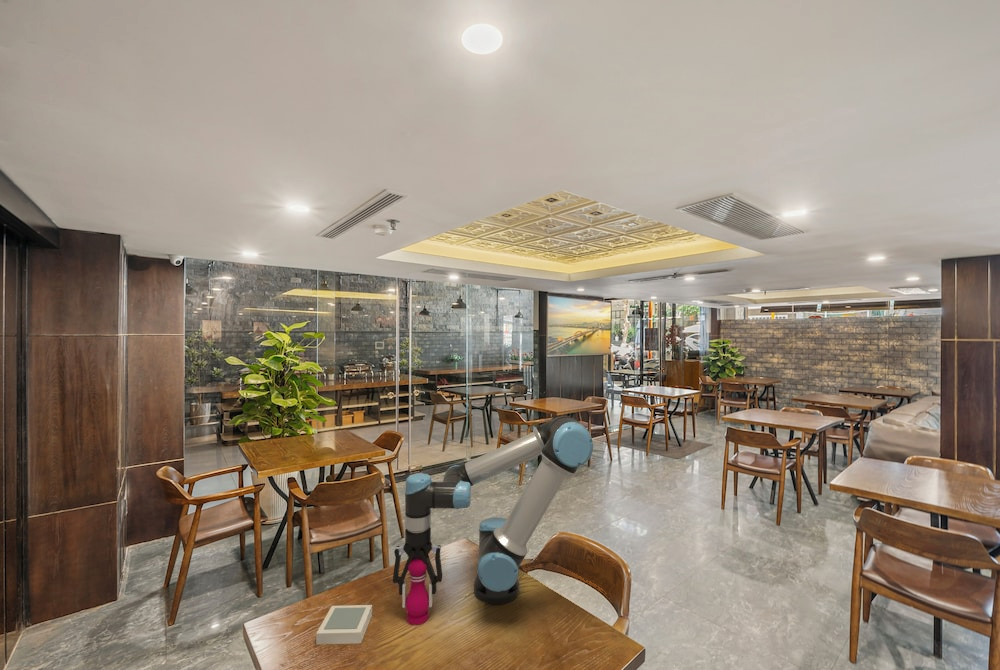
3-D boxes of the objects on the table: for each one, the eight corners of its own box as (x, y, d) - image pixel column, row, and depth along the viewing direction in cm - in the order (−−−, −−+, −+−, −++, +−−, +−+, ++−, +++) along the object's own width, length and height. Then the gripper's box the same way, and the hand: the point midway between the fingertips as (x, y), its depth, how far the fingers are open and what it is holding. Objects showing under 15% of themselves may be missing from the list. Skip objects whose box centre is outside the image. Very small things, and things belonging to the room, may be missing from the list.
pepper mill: (424, 628, 123) (424, 558, 123) (401, 624, 125) (401, 555, 125) (433, 612, 130) (433, 546, 130) (411, 609, 132) (411, 544, 132)
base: (372, 614, 129) (372, 604, 129) (360, 643, 117) (360, 631, 117) (331, 615, 128) (331, 604, 128) (316, 644, 116) (316, 632, 116)
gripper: (452, 521, 132) (452, 596, 132) (387, 522, 131) (386, 597, 131) (450, 532, 124) (450, 611, 124) (381, 533, 123) (380, 613, 123)
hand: (417, 604), depth 128 cm, fingers closed on pepper mill, 7 cm apart
